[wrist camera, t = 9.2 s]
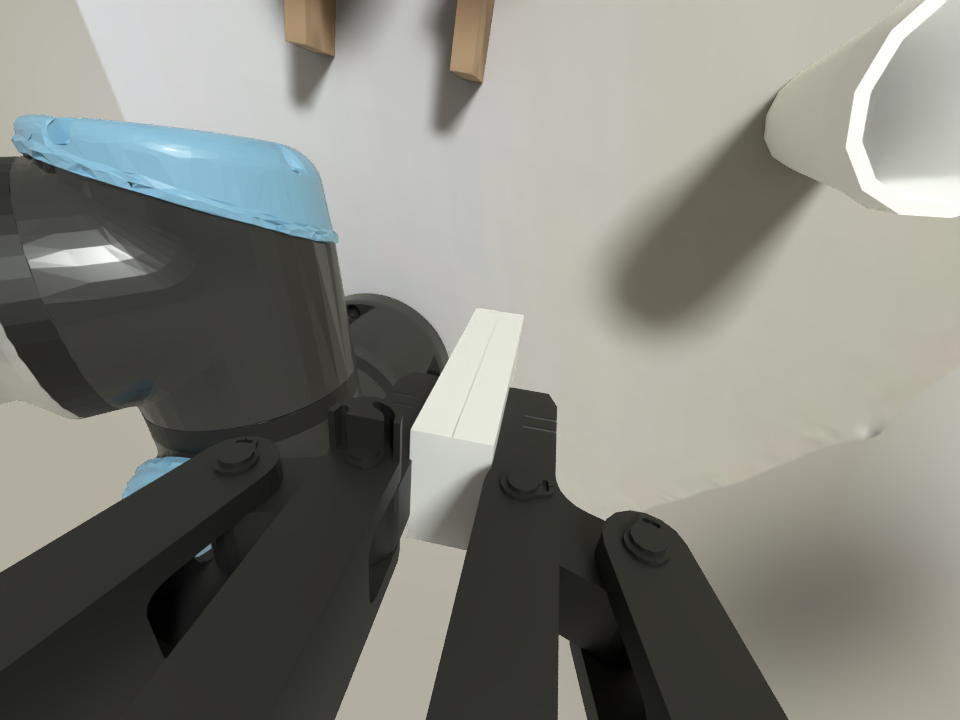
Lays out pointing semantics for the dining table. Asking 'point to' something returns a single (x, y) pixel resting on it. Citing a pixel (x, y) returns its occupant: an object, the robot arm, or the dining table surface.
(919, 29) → the foam cup
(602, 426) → the dining table surface
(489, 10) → the chute
